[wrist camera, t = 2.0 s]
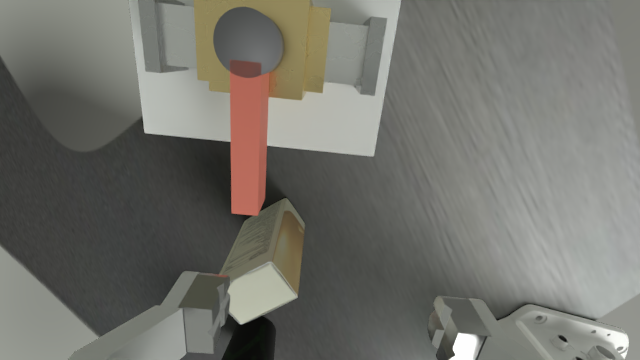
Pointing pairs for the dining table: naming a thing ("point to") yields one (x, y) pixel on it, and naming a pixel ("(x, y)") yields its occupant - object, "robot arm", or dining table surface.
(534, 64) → the dining table surface
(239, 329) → the cup
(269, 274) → the skincare box
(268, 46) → the lever
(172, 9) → the valve
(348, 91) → the board
